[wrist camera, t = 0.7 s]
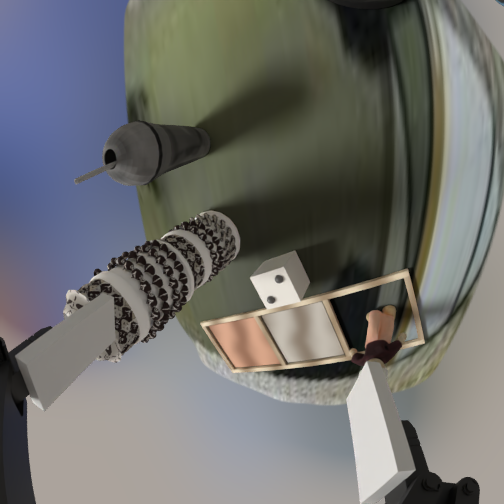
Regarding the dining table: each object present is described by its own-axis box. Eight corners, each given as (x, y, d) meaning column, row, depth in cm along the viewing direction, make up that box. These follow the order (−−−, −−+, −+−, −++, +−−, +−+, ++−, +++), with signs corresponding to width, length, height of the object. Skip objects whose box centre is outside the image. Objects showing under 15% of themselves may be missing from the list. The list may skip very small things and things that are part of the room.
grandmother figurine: (394, 294, 34) (395, 361, 23) (407, 313, 34) (410, 382, 23) (349, 319, 38) (333, 385, 27) (363, 336, 38) (350, 403, 28)
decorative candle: (207, 272, 45) (91, 374, 24) (180, 221, 43) (44, 300, 22) (253, 256, 40) (131, 381, 20) (224, 198, 38) (67, 284, 18)
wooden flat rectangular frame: (407, 268, 32) (408, 270, 31) (424, 340, 34) (424, 343, 33) (201, 321, 51) (200, 323, 50) (234, 370, 53) (232, 372, 52)
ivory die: (295, 250, 37) (282, 268, 33) (310, 282, 38) (299, 304, 34) (264, 260, 40) (248, 279, 35) (279, 290, 41) (265, 312, 36)
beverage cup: (213, 111, 34) (85, 115, 17) (224, 163, 36) (103, 201, 20) (172, 126, 37) (50, 143, 20) (182, 172, 39) (65, 213, 23)
